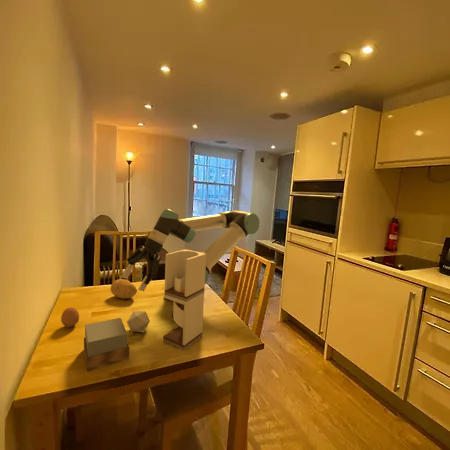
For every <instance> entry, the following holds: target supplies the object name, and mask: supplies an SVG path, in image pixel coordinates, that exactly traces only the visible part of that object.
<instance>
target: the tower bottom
mask: <svg viewBox="0 0 450 450" xmlns="http://www.w3.org/2000/svg"><path fill="white" fill-rule="evenodd" d="M83 352H84V359H85V367H86V372H91V371H94V370H97V369H100V368H104V367H108V366H111V365H115V364H118V363H123V362H126V361H128V360H130V346H129V343H128V342H127V347H125V348H121V349H117V350H114V351H110V352H106V353H102V354H98V355H94V356H90V357H88V353H87V346H86V339H85V337H83Z"/></svg>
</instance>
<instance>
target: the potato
mask: <svg viewBox="0 0 450 450" xmlns="http://www.w3.org/2000/svg"><path fill="white" fill-rule="evenodd" d="M110 292H111V294H112V295H113V296H114V297H116V298H119V299H122V300H123V299H126V300H127V299H132V298H133V297H134V296H137V295H136V294H137V292H138V289H137V287H136V285H135V284H134V283H132V282H131V281H129V280H127V279H125V278H119V279H116V280H114V281H113V282H112V284H111V286H110Z"/></svg>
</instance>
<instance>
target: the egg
mask: <svg viewBox="0 0 450 450" xmlns="http://www.w3.org/2000/svg"><path fill="white" fill-rule="evenodd" d="M79 319H80V313H79V311H78V310H77V308H75V307H74V306H68V307H67V308H65V310H63V312H62V314H61V317H60V321H61V324H62V325H63V326H64V327H67V328H73V327H74V326H75V325H76V324H77V323H78V322H79Z"/></svg>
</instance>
